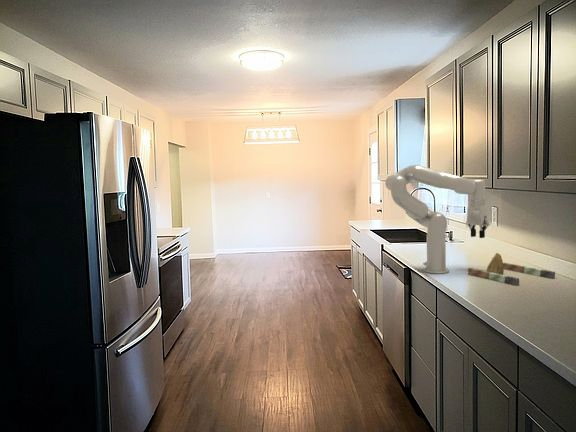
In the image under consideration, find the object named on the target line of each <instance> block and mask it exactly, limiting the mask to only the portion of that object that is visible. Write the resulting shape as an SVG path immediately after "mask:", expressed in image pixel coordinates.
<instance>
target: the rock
mask: <svg viewBox="0 0 576 432" xmlns="http://www.w3.org/2000/svg"><path fill="white" fill-rule="evenodd" d="M502 258H503V257H502V255H501V254H500V253H497V252H496V253H495V255H493V257H492V258H491V260H490V262H489V263H488V264H487V268H486V270H485V271H487V272H491V273H496V274H501V275H504V272H505V271H504V270H505V269H504V268H503V263H504V262H503V259H502Z"/></svg>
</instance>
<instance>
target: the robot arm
mask: <svg viewBox="0 0 576 432" xmlns="http://www.w3.org/2000/svg"><path fill="white" fill-rule="evenodd" d="M484 181H485V180H484V179H468V178H465V177H462V176H458V175H456V174H455V175H454V174H451V173H447V172H445V171H444V172H443V171H440V170H437V169H432V168H431V167H426V166H423V165H420V164H412V165H409V166H406V167H404V168H402V169H400V170H398V171H397V172H396V171H395V172H394V173H393V174H390V175H388V176H387V178H386V179H385V181H384V182H385V187H386V188H387V189H388V190H389V191H390V193H391V198H392V200H393V202H394V203H395V204H396V205H397V206H398V207H399V208H401V209H402V210H404V211H405V213H406V215H407V217H409V218H410V219H412V220H413V221H415V222H416V223H418V224H419V225H421V226H422V227H424V228H427V231H426V261H425V262H423V263H422V265H423V266H425V268H424V269H423V272H424V273H427V274H437V275H438V274H439V275H440V274H448V273H449V272H450V268H447V258H446V257H447V256H446V255H447V249H446V247H447V246H446V244H447V243H446V235H447V227H448V223H447V222H448V220H447V218H446V216H445V215H444V214H443V213H441V212H439V211H433V210H431V209H430V208H429V207H428V205H427V204H426V203H425V202H423V201H422V200H420V199H418V198H417V197H415V196H414V195H412V194H410V192H409V191H408V189H407V185H408V184H411V183H412V182H417V183H419V184H423V185H426V186H429V187H433V188H437V189H445V190H451V191H453V192H454V193H456V194H459V195H469V201H468V203H469V205H468V207H467V214H466V221H465V224H467V226H468V227H469V230H470V238H475V237H477V229H476V226H479V232H478V234H479V235H478V237H479V238H480V239H484V238H485V237H486V235H485V234H486V229H487V228H488V227H489V226H490V225H491V224H490V222H489V220H488V217H489V216H488V210H487V205H486V181H485V182H484Z"/></svg>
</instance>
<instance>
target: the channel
mask: <svg viewBox="0 0 576 432" xmlns="http://www.w3.org/2000/svg"><path fill="white" fill-rule="evenodd" d="M503 268H504V270H507V271H512V272H517V273H522V274H527V275H531V276H537V277H542V278H546V279H556V271H551V270H547V269H540V268H536V267H530V266H525V265H520V264H515V263H508V262H503ZM467 274H468V275H470V276H475V277H479V278H483V279H486V280H490V281H495V282H500V283H504V284H508V285H512V286H515V287H516V286H520V278H518V277H515V276H509V275H504V274H503V275H501V274H496V273H491V272H488V271H486V270H482V269H476V268H473V267H469V268H468V269H467Z"/></svg>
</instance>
